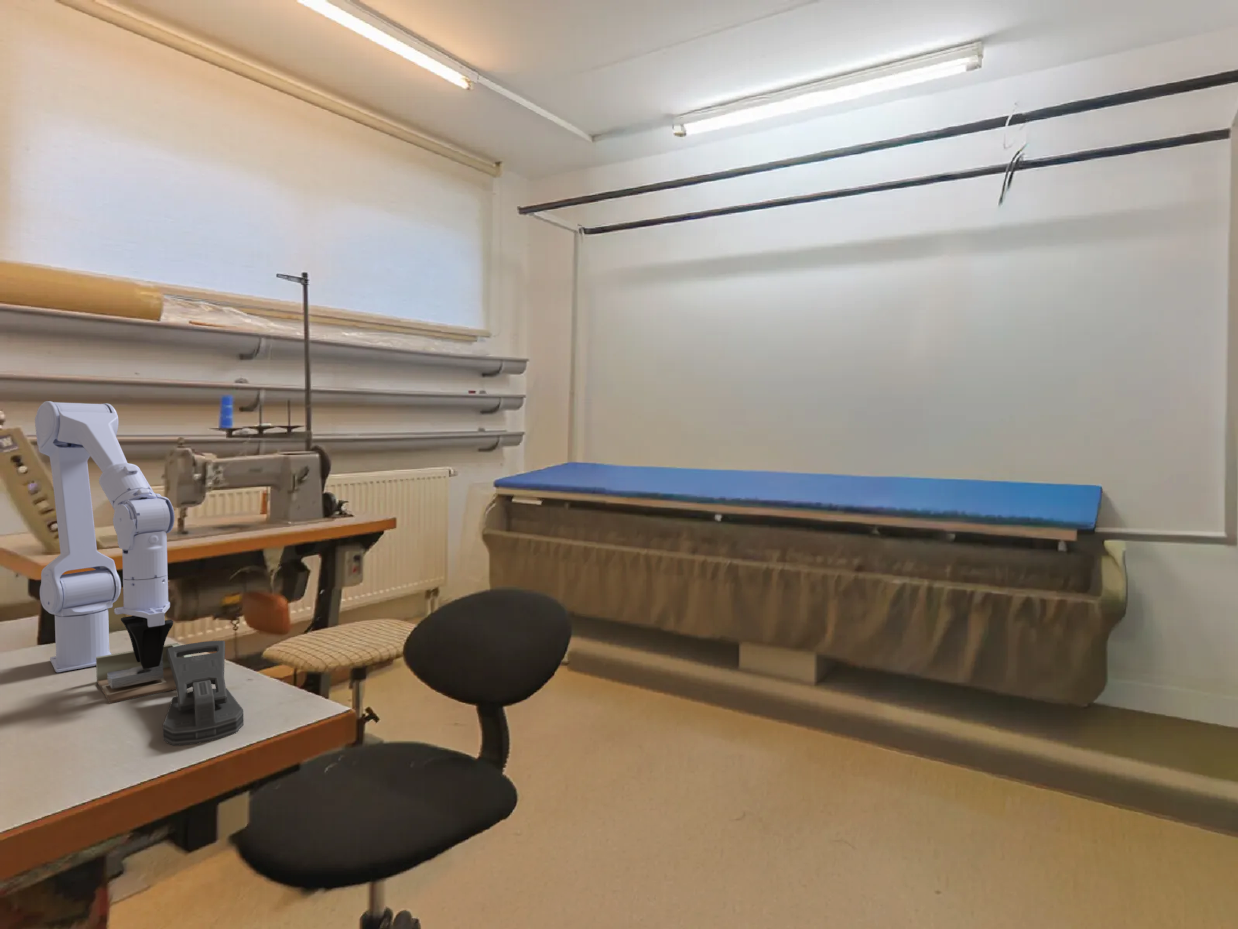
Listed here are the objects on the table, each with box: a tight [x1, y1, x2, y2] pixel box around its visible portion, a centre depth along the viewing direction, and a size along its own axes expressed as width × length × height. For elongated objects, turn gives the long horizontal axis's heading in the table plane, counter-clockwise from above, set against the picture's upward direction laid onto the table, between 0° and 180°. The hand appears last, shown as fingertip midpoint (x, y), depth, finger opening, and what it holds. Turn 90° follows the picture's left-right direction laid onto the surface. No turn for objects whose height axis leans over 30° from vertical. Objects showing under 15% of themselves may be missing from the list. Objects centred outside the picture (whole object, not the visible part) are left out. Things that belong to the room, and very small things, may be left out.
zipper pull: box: [162, 640, 245, 747], centre depth 98 cm, size 9×7×25 cm
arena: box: [95, 642, 193, 704], centre depth 109 cm, size 12×11×4 cm
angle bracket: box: [107, 653, 163, 689], centre depth 107 cm, size 6×4×5 cm, turn 134°
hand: (147, 663), depth 108 cm, fingers closed on angle bracket, 4 cm apart
